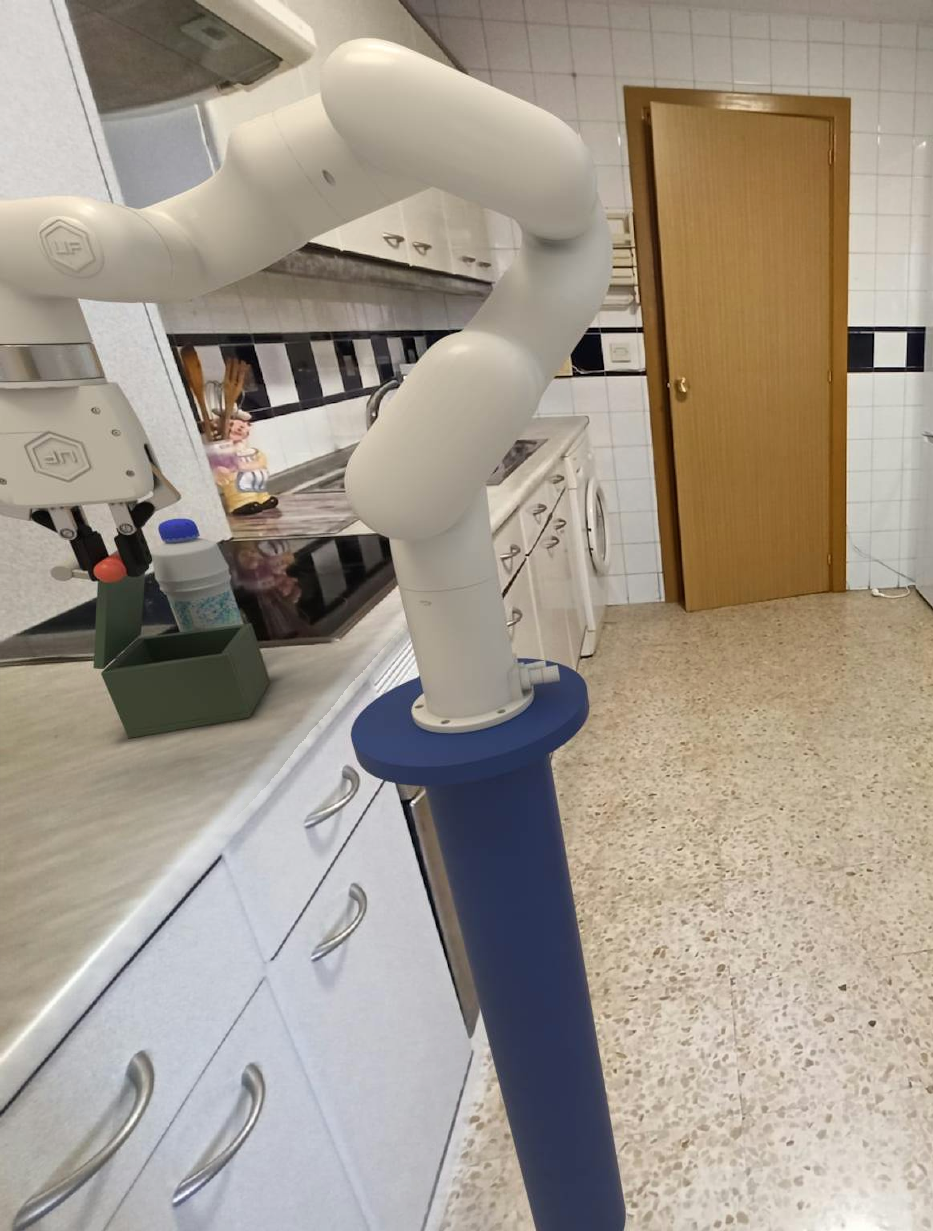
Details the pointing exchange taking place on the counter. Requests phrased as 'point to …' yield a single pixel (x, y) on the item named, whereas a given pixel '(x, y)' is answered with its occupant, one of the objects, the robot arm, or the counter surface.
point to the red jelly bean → (110, 568)
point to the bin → (187, 679)
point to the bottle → (194, 578)
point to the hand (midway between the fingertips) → (121, 573)
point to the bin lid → (110, 610)
